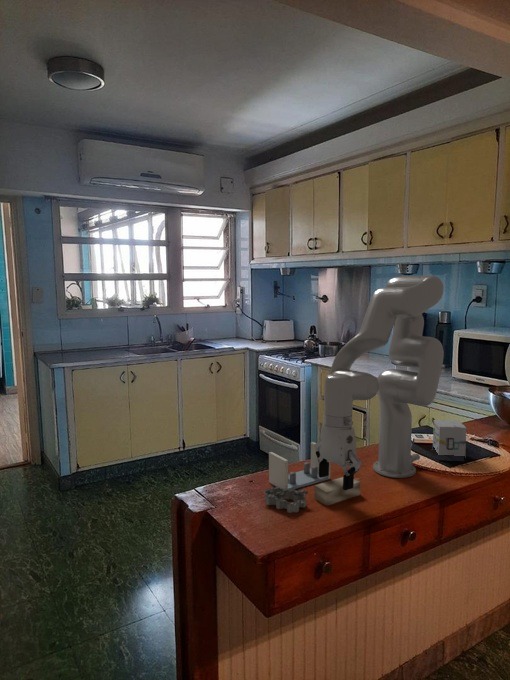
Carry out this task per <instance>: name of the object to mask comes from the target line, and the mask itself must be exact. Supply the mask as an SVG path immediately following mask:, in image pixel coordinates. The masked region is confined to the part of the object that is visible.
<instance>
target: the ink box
mask: <svg viewBox="0 0 510 680" xmlns="http://www.w3.org/2000/svg"><path fill="white" fill-rule="evenodd" d="M432 432H433V435H432V436H433V437H432V448H433V447H434V448H435V450H436V452H437V453H438V455H454V456H465V457H466V448H467V447H466V445H467V427H466V425H464V424H463V422H462V421H460V420H454V419H452V420H451V419H446V420H445V419H433V430H432Z"/></svg>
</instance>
